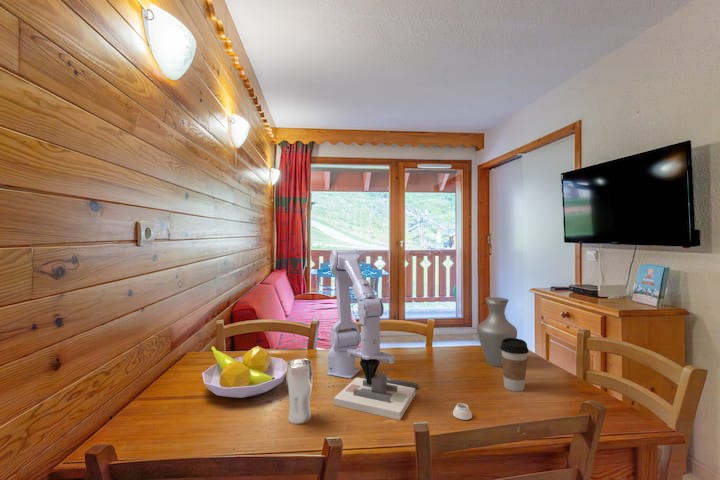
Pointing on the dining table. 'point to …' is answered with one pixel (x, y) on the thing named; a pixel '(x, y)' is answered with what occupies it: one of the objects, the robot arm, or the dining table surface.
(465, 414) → the lidless jar
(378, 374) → the switch knob
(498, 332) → the vase
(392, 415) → the white board with rails
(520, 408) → the dining table surface
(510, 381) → the coffee cup
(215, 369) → the fruit bowl
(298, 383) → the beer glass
